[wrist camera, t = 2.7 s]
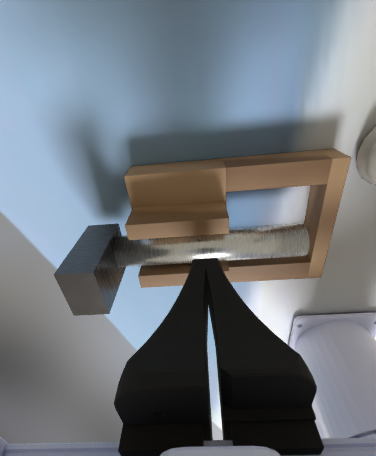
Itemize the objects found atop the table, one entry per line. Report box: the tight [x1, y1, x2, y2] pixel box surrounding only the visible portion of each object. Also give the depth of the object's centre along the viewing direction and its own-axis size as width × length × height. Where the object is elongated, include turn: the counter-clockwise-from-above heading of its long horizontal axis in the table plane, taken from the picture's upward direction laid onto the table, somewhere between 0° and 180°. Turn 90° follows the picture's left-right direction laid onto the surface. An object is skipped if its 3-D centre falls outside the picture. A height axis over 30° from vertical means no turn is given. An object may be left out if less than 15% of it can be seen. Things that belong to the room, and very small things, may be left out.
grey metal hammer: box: [54, 223, 309, 315], centre depth 14 cm, size 3×14×5 cm, turn 96°
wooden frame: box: [124, 149, 351, 288], centre depth 16 cm, size 9×13×4 cm
